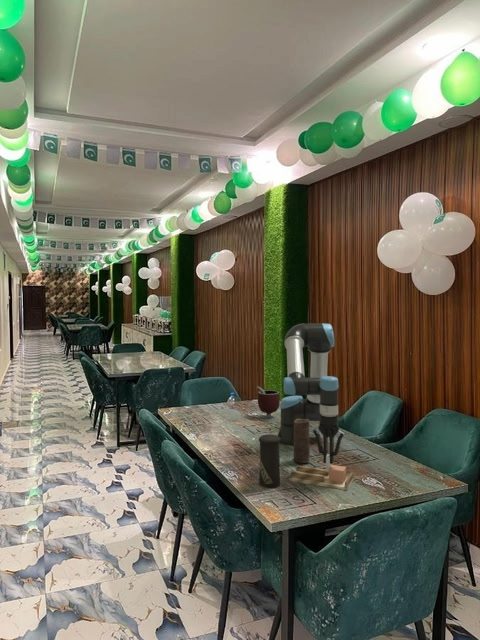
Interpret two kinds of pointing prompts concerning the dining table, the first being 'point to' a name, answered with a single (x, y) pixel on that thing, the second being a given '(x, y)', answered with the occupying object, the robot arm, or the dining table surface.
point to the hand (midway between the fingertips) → (328, 470)
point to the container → (269, 461)
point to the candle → (301, 441)
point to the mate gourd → (268, 404)
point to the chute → (318, 477)
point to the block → (337, 473)
